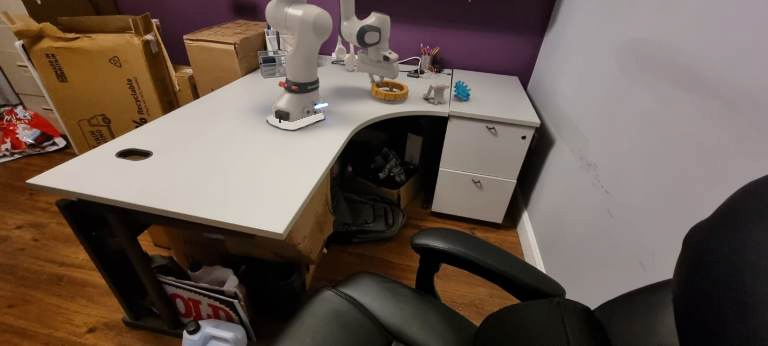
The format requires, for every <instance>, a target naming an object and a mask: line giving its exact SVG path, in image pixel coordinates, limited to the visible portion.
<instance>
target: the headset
mask: <svg viewBox="0 0 768 346" xmlns="http://www.w3.org/2000/svg"><path fill="white" fill-rule="evenodd" d="M349 51H350V52H349V53H347V48H346V47H345V46H343V43H342V39H341V38H340V36H339V35H338V38H337V43H336V48H335V50H334V56H335V59H332V60H333V61H332V62H335V63H336V62H339V61H342V60H344V62H343V63H344V65H345V67H346V68H348V69H347V70H348V72H352V71H354V70H355V67H356V63H357V57H356V54H355V48H354V45H353V44H351V43H349Z"/></svg>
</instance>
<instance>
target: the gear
mask: <svg viewBox="0 0 768 346" xmlns="http://www.w3.org/2000/svg"><path fill="white" fill-rule="evenodd" d="M468 87H469V86H468V84H466V83H465V82H464V81H461V79H460V80H459V79H458V81H455V82H454V85H453V88H454V90H453V91H454V93H455V94H453V96H454V97H457V98H459V99H460V100H461V101H464V102H467V101H468V100H470V97H471V93H470V92H471V91H472V88H471V87H470V88H468Z"/></svg>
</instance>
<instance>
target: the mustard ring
mask: <svg viewBox="0 0 768 346" xmlns="http://www.w3.org/2000/svg"><path fill="white" fill-rule="evenodd" d="M377 81H378V80H375V82H373V83H372V84H370V85H371V86H370V94H371V95H372V96H374V97H376V98H378V99H381V100H384V99H385V100H384V101H388V100H393V101H392V102H397V101H401V100H405V99H407V98H408V96H409V86H408V85H407V84H405V83H403V82H400V81H396V80H392V79H383V80H382V83H381V85H380V86H379V85H377ZM389 83H393V84H394V86H393V90H397V92H386V91H384V89H389ZM394 100H395V101H394ZM396 100H397V101H396Z"/></svg>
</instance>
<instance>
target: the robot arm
mask: <svg viewBox="0 0 768 346" xmlns="http://www.w3.org/2000/svg"><path fill="white" fill-rule="evenodd" d="M307 1H308V0H270V1H269V2H268V4H266V8H265V11H264V12H265V13H264V14H265V19H266V22H267V24H268V26H269V27H270V28H272V29H273V30H275V31H276V32H278V33H279V34H282V35H286V36H289V37H292V38H293V44H292V48H291V49H290V50H288V51H287V52H286V54H285V56H284V63H285V71H286V72H285V73H286V76H285V80H284V81H283V80H280V81H278V87H280V88H283V90H282V92H281V93H280V94H279V96H278V97H277V98H276V100H275V101H274V102H273V104H272V107H271V111H272V114H271V115H273V117H275V118H276V119H279V123H281V120H283V121H288V122H294V121H297V120H300V119H303V118H306V117H309V116H312V115H316V114H319V113H323V114H325V113H324V109H323V107H326V106H327V107H328V103H322V102H323V101H322V96H321V94H320V93H321V92H320V90H319V89H320V78H319V76H318V75H319V74H318V59H319V58H318V57H319V53H320V49H321V47H322V45H323V43H324V42H326V41H327V40H328V39H329V38H330V36H331V34H332V33H333V27H334V26H333V19H332V16H331V14H330V13H329V11H327V10H325V9H324V8H322V7H321V6H320V7H319V6H318V5H315V4H311V3H307ZM355 3H356V1H355V0H338V7H339V8H338V9H339V11H338V12H339V18H338V19H339V20H338V24H337V33H338V36H340V38H341V41H342V42H344V43H347V44H350V43H351V44H353V46H356V47H359V48H360V49H359V50H358V51H357V52H356V53H357V54H356V55H357V57H356V60H357V61H356V64H355V68H356V71H358V72H362V73H366V74H368V78H369V80H370V85H372V83H373V82H375V81H377V85H379V86H380V85H381V83H382V80H385V79H388V80H391V81H395V80H396V79H398V77H399V74H400V73H399V72H400V63H399V62H398V60H399V55H398V54H397V53H396V52H394V51H393V50H391V49H390V43H389V40H390V36H391V18H390V16H389V15H388V14H387V13H384V12H380V11H377V10H374V11H371V13H370V15H369V16H368V17H366V18H365V19H362V20H360V19H359V18H357V16H356V6H355V5H356V4H355ZM374 76H377V77H378V78H379V79H378V80H376V79H375V78H374Z"/></svg>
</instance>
